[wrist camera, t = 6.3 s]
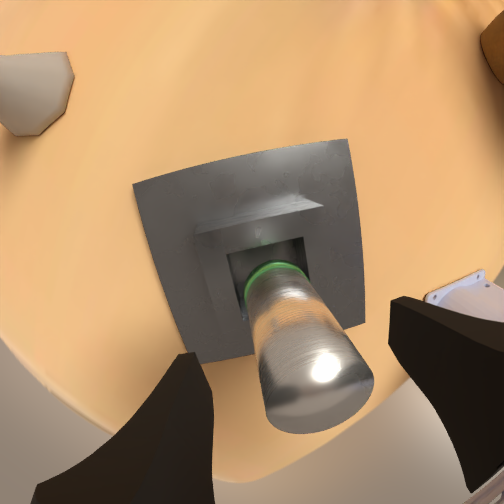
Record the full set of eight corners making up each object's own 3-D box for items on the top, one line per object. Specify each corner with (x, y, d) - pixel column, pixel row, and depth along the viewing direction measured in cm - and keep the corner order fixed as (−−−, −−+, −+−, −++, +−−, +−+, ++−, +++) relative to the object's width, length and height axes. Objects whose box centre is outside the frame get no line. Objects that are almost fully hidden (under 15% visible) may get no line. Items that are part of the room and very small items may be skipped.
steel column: (302, 252, 14) (379, 341, 6) (310, 309, 15) (371, 414, 7) (236, 267, 13) (252, 377, 6) (251, 324, 14) (273, 444, 7)
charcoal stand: (341, 139, 17) (369, 134, 13) (360, 316, 21) (382, 342, 17) (137, 183, 17) (114, 187, 13) (194, 357, 21) (190, 391, 17)
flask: (13, 75, 12) (-62, 54, 3) (78, 40, 13) (7, -12, 3) (11, 150, 14) (-77, 156, 5) (76, 119, 15) (-21, 98, 5)
